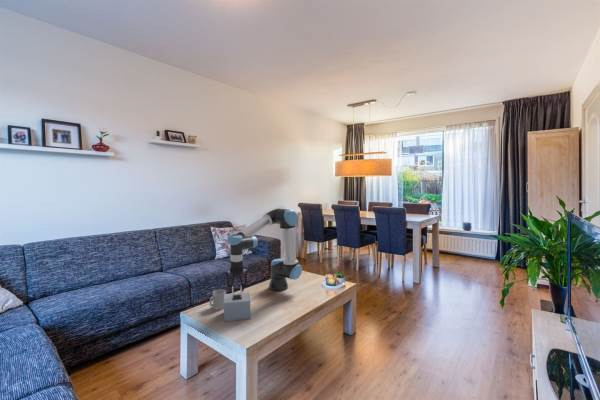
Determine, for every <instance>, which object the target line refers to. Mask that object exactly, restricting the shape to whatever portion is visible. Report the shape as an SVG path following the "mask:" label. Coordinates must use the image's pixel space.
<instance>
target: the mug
mask: <svg viewBox="0 0 600 400" xmlns="http://www.w3.org/2000/svg"><path fill="white" fill-rule="evenodd" d="M226 292H227V291H226V289H223V288H221V289H216V290H213V292H212V296H211V297H210V298H209V306H210V307H211V308H213V310H215V311H221V310H224V294H227V293H226Z"/></svg>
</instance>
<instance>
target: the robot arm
mask: <svg viewBox="0 0 600 400" xmlns="http://www.w3.org/2000/svg"><path fill="white" fill-rule="evenodd" d="M298 221H299V216H298V213H297V212H296V211H295V210H294V209H287V208H275V209H272V210H269V211H267V212H266V213H265V214H263V215H262V217H261V218H260V219H258V220H256V221H255V222H253V223H251V224H250V225H248V226H247V227H245V228H243V229H242V230H241V231H238V232H237V233H232V234H229V235H228V237H227V243H228V244H229V246H230V247H229V249H230V251H229V253H230V254H229V255H230V268H229V269H227V270H225V274H226V287H228V288H229V292H230V293H229V294H232V298H233V294H234V286H233V285H234V280H235V277H236V276H238V277H239V281H240V293H241V297H242V293H244V291H245V289H244V288H245V287H246V286H247V282H248V281H247V278H248V277H247V275H248V274H247V273H248V269H247V268H246V269H245V268H244V267H243V266H244V265H243V262H244V261H243V257H244V252H243V251H244V250H249V249H253V248H256V247H258V243H259V239H258V238H257V237H256V236H255V235H257V233H260V232H261V231H262V230H264V229H265V228H268V226H269V227H271V226H273V225H276V224H277V225H279V229H280V230H281V231H282V242H283V252H284V253H283V254H284V258H274V259H272V260H271V262H270V272H271V273H270V274H271V275H270V281H269V284H268V289H269V290H270V291H273V292H274V291H275V292H282V291H286V290H287V289H289V284H288V281H287V280H288V279H290V280H295V281H296V280H298V279H299V278H300V276H301V275H302V273H303V266H302V265H301V264H299V260H298V258H297V254H296V244H295V243H296V242H295V231H294V229H295V228H296V225H297V224H298ZM230 273H231V274H232V275H231V280H230ZM242 273H244V275H243V277H244V280H243V277H242Z"/></svg>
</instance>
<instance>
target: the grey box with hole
mask: <svg viewBox="0 0 600 400" xmlns="http://www.w3.org/2000/svg"><path fill="white" fill-rule="evenodd" d="M251 311H252V309H251V294H250V292H249V291H248V292H242V297H241V292H235V293H234V292H233V298H232V293H226V294H224V309H223V322H232V321H242V320H244V321H245V320H251V319H252V317H251Z"/></svg>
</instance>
